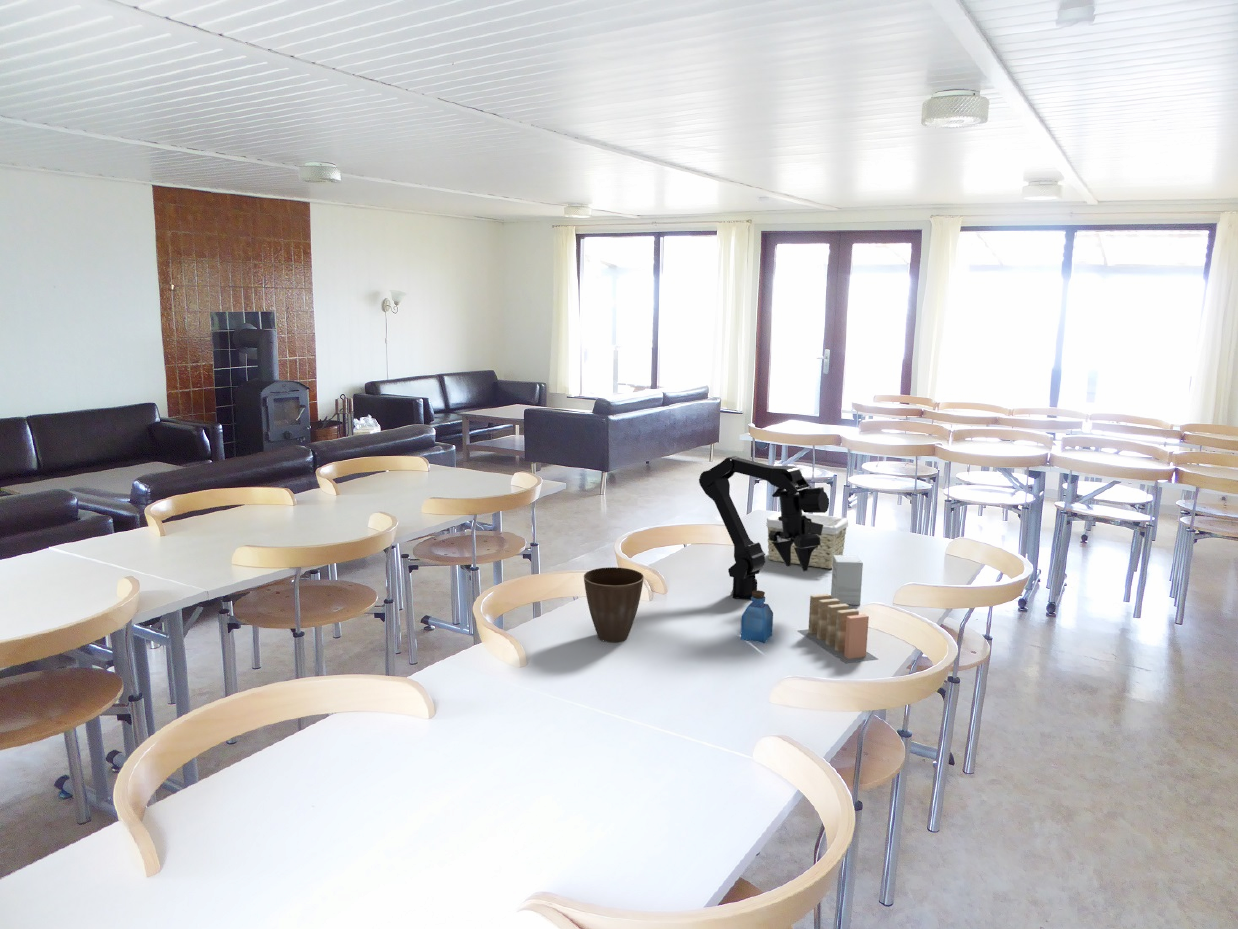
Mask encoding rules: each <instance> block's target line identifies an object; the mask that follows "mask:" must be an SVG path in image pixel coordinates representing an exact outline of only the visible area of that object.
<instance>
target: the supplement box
mask: <svg viewBox="0 0 1238 929" xmlns="http://www.w3.org/2000/svg"><path fill="white" fill-rule="evenodd" d="M863 567H864V564H863V561H862V559H861V558H860V557H859V556H858V555H833V567H832V568H831V570H832V572H831V585H830V586H831V588H830V595H831V599H838V600H840V604H847V605H849V606H851V605H855V606H856V605H857V606H860V605H861V598H862V585H863V584H862V582H863Z"/></svg>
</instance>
